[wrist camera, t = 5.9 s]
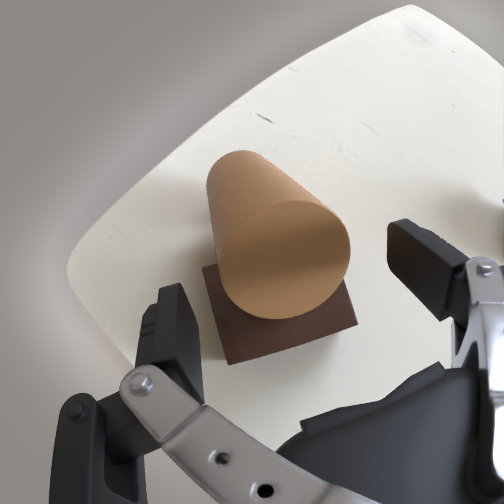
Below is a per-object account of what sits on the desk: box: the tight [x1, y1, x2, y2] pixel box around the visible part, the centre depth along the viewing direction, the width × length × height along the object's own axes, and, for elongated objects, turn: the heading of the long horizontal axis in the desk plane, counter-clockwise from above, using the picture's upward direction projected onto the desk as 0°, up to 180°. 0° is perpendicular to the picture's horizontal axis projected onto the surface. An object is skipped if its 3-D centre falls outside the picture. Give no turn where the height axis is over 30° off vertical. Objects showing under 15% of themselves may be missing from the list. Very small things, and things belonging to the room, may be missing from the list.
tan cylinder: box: [206, 150, 350, 319], centre depth 16 cm, size 12×5×12 cm, turn 16°
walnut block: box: [202, 263, 358, 365], centre depth 19 cm, size 6×8×4 cm
